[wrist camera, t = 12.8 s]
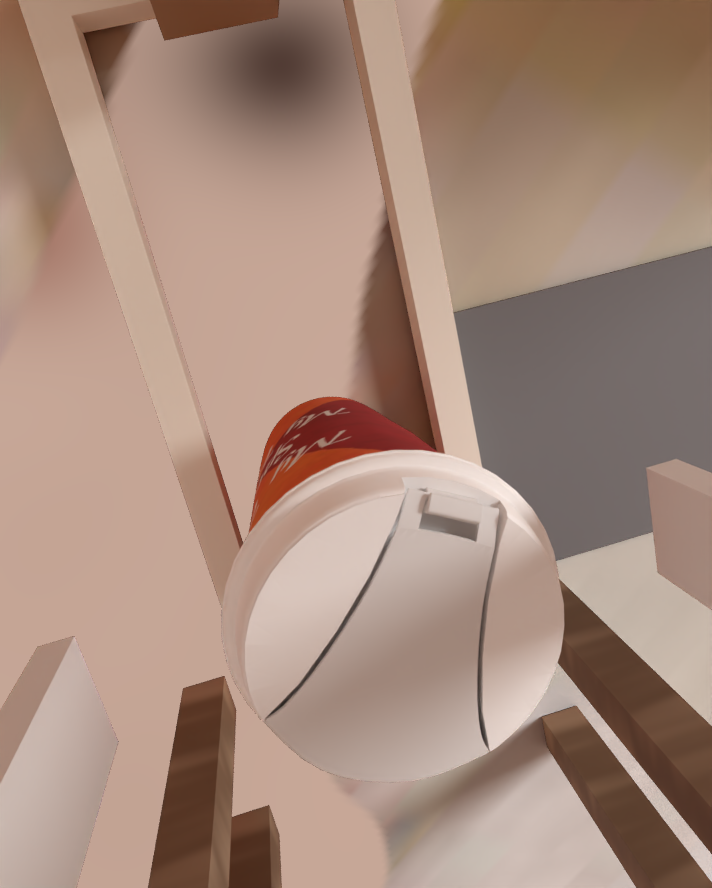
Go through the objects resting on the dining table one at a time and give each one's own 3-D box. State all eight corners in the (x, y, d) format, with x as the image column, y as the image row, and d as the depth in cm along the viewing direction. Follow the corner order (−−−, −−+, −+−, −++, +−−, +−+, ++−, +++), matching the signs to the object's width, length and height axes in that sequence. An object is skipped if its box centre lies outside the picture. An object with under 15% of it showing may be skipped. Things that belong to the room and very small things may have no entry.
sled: (11, -48, 21) (-250, -406, 10) (361, -114, 22) (465, -499, 11) (223, 591, 28) (203, 787, 17) (481, 516, 29) (618, 655, 18)
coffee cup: (262, 348, 26) (272, 425, 12) (441, 396, 28) (640, 513, 14) (217, 529, 28) (177, 791, 13) (389, 564, 30) (516, 827, 15)
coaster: (447, 314, 27) (449, 314, 27) (717, 245, 28) (722, 244, 28) (496, 575, 31) (498, 578, 30) (734, 504, 32) (739, 505, 32)
